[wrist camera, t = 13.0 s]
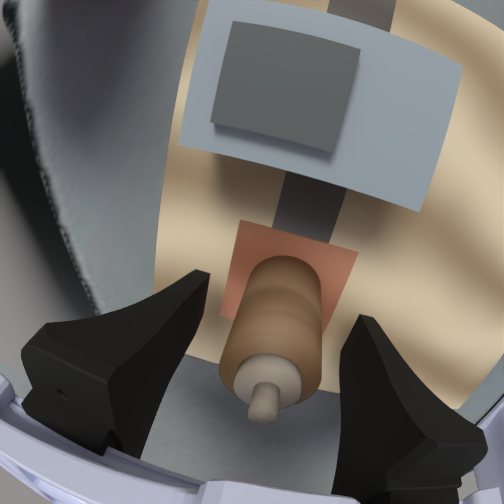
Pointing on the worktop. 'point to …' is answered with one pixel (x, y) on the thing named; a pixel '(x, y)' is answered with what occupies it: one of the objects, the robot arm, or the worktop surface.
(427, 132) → the block
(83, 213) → the worktop surface
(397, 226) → the board
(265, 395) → the brown glue bottle
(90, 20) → the worktop surface
